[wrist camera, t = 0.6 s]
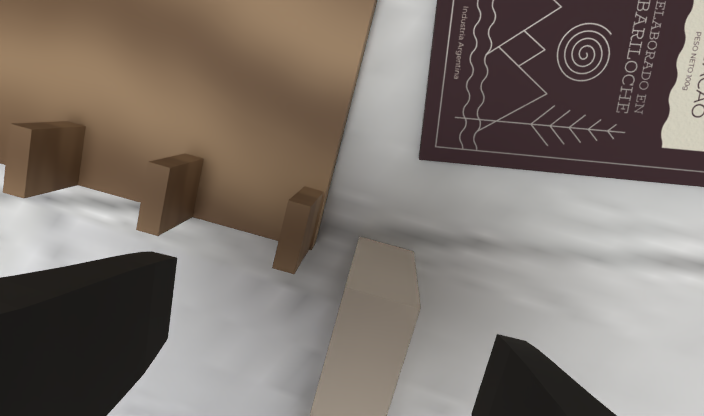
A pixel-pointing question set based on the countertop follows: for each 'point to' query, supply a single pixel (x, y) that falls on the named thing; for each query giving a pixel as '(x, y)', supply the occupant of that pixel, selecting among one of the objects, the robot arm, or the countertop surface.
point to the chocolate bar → (569, 87)
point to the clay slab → (370, 333)
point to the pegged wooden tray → (183, 107)
